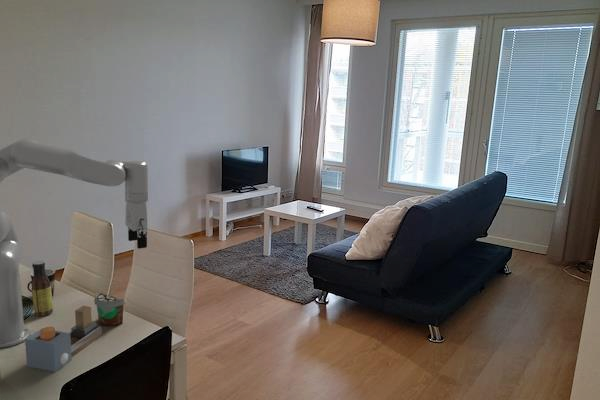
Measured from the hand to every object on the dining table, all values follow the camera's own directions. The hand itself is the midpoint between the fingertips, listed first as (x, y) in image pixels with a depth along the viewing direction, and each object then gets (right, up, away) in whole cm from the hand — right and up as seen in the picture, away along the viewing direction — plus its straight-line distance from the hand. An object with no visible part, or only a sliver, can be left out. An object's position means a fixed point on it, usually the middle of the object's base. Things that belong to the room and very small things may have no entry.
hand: (137, 244), depth 171 cm
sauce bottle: (-38, -27, +8) cm, 47 cm away
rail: (-16, -32, -13) cm, 38 cm away
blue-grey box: (-19, -34, -24) cm, 46 cm away
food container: (-12, -29, +3) cm, 32 cm away
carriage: (-15, -29, -9) cm, 34 cm away
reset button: (-19, -28, -25) cm, 42 cm away
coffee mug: (-46, -23, +21) cm, 55 cm away
